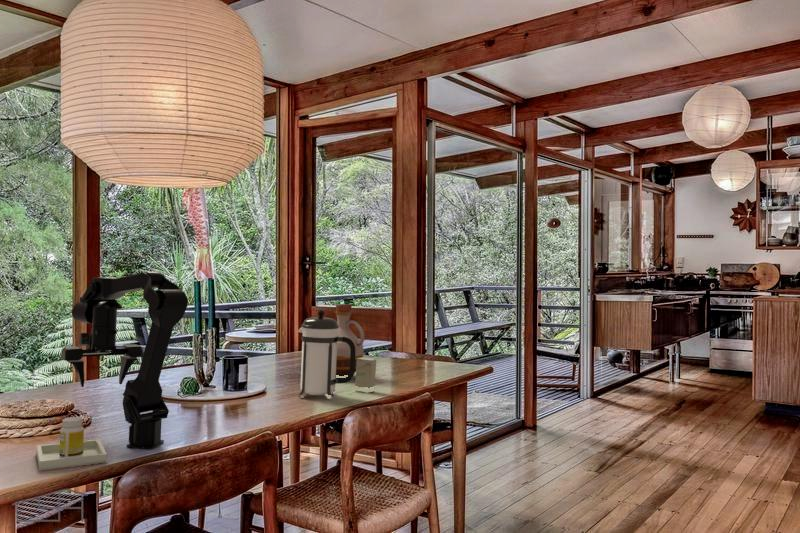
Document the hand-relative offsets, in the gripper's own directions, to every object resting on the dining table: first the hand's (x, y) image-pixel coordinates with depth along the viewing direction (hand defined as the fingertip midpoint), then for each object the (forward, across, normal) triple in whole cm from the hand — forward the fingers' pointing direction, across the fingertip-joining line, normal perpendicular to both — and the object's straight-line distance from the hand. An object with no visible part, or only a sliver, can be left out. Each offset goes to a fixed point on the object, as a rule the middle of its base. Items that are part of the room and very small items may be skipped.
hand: (101, 385), depth 166 cm
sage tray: (+12, +11, +20) cm, 26 cm away
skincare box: (+12, -93, -13) cm, 95 cm away
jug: (+12, -101, -40) cm, 109 cm away
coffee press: (+12, -74, -13) cm, 77 cm away
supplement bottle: (+12, +11, +20) cm, 26 cm away
